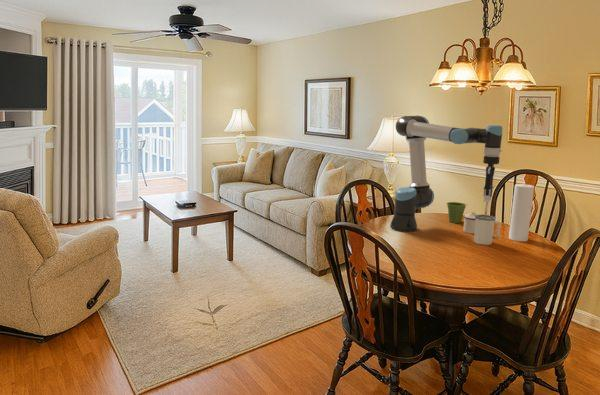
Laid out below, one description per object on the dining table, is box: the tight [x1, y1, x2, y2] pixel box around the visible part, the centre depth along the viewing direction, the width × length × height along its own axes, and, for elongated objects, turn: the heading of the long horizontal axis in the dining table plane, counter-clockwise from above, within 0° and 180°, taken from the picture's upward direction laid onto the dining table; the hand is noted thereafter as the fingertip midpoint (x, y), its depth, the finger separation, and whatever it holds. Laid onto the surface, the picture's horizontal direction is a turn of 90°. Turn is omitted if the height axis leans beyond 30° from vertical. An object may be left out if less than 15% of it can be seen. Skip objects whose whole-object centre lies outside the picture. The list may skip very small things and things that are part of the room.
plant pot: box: [446, 201, 468, 224], centre depth 287 cm, size 12×12×11 cm
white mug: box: [473, 214, 501, 246], centre depth 244 cm, size 12×9×14 cm
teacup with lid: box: [462, 211, 478, 235], centre depth 266 cm, size 12×9×12 cm
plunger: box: [483, 185, 494, 218], centre depth 242 cm, size 6×6×20 cm
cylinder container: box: [508, 183, 535, 242], centre depth 251 cm, size 9×9×30 cm
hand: (487, 200), depth 242 cm, fingers closed on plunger, 4 cm apart
